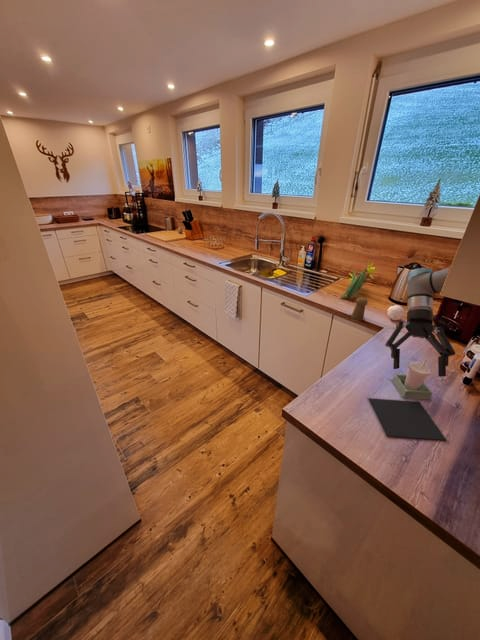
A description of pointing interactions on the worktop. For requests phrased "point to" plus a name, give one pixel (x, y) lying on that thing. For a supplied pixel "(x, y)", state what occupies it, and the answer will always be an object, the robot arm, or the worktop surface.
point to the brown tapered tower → (359, 309)
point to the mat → (405, 419)
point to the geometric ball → (395, 312)
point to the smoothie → (416, 375)
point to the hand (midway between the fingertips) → (418, 372)
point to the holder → (405, 393)
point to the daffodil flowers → (358, 282)
